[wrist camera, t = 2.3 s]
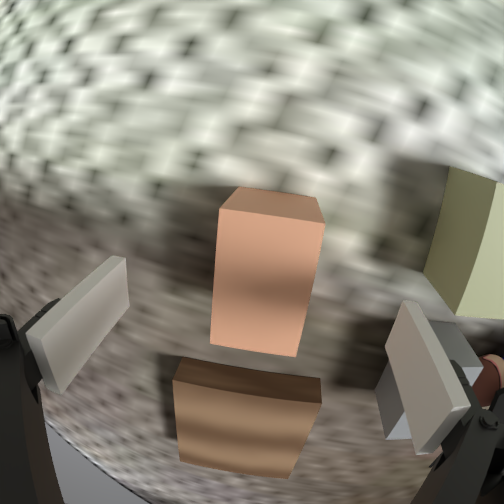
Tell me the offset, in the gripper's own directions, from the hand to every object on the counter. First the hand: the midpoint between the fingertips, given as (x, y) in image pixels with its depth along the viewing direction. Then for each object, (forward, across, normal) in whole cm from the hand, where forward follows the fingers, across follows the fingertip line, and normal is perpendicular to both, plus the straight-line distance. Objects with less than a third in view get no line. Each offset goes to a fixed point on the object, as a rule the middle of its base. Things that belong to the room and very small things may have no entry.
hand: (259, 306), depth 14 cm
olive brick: (+8, -14, -4) cm, 17 cm away
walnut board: (+8, 0, +18) cm, 20 cm away
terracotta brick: (+8, 0, 0) cm, 8 cm away
